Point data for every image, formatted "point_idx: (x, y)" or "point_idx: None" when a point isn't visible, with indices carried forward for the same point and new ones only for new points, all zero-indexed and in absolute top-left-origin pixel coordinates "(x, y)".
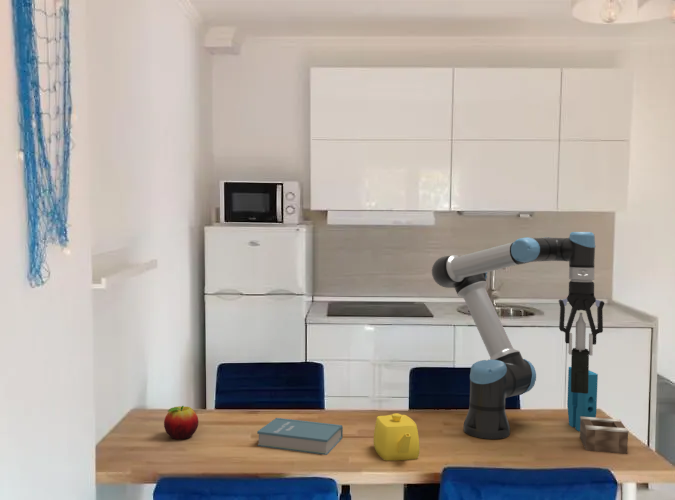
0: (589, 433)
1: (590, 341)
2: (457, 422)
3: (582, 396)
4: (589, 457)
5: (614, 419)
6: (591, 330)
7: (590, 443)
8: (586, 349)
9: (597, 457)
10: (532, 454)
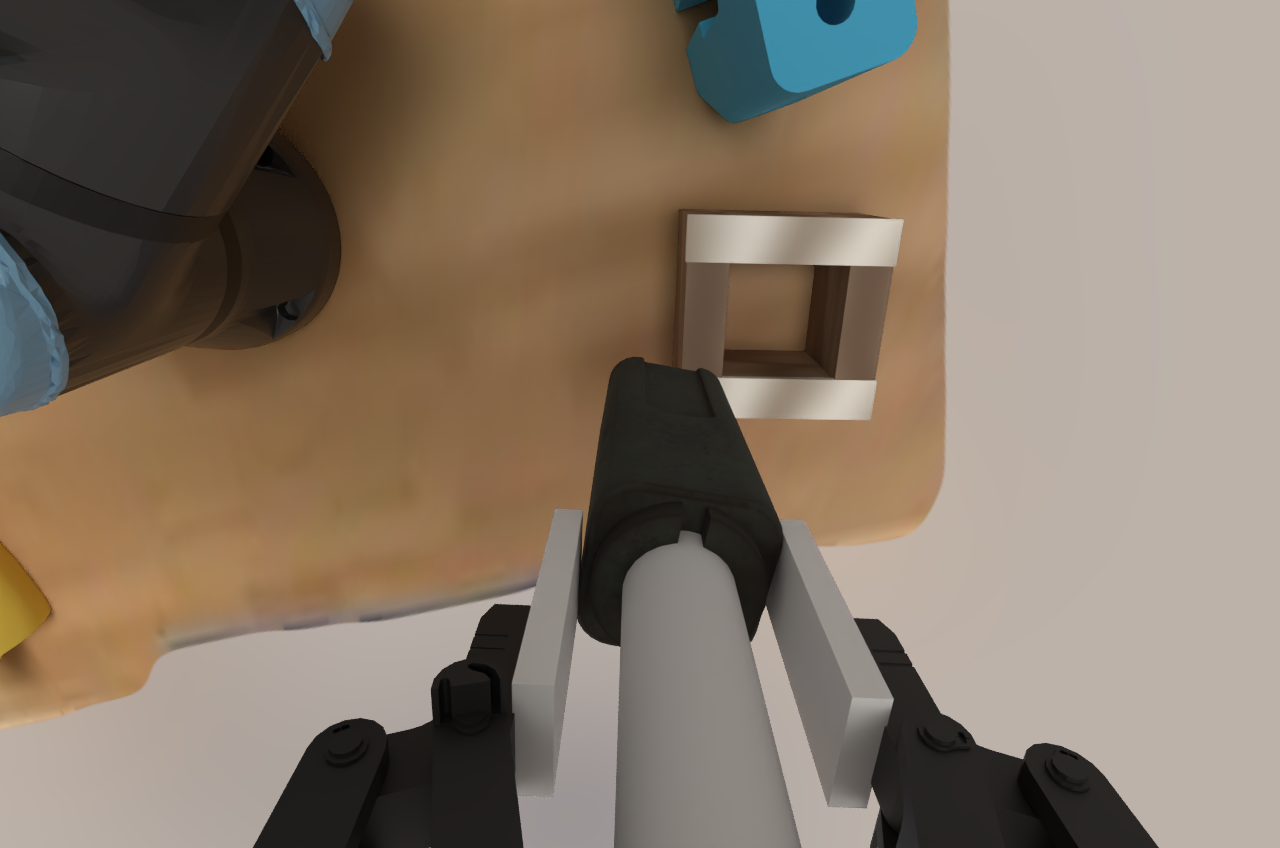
0: None
1: (807, 719)
2: None
3: (735, 93)
4: None
5: (871, 230)
6: (904, 774)
7: None
8: (748, 600)
9: None
10: (451, 479)
